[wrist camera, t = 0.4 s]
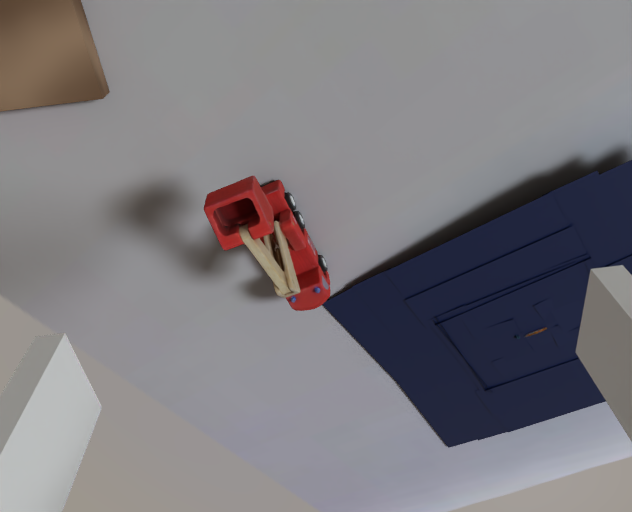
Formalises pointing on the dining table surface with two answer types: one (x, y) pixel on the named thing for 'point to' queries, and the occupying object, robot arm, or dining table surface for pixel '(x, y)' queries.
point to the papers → (497, 311)
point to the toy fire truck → (271, 238)
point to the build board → (47, 55)
